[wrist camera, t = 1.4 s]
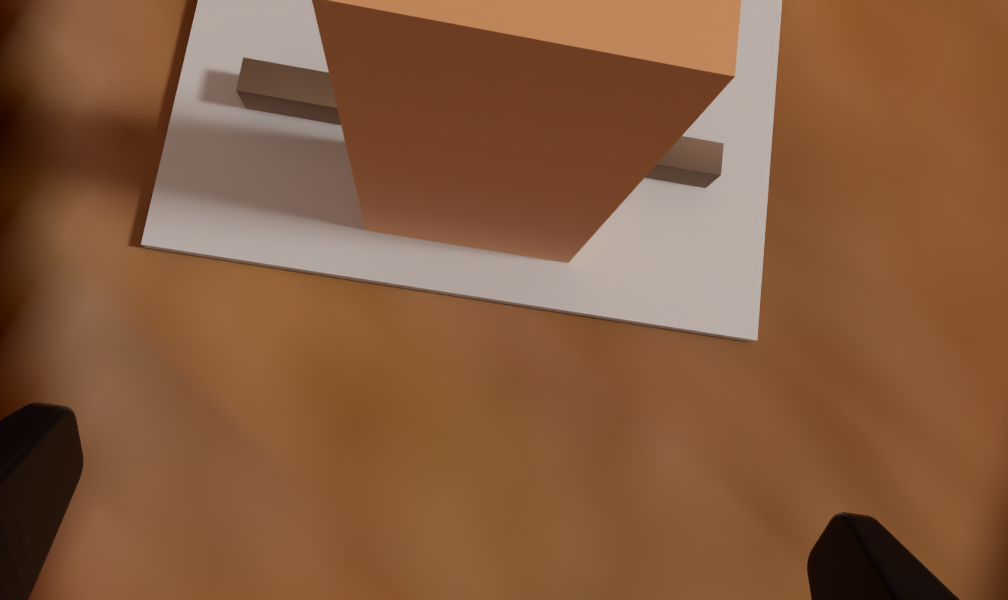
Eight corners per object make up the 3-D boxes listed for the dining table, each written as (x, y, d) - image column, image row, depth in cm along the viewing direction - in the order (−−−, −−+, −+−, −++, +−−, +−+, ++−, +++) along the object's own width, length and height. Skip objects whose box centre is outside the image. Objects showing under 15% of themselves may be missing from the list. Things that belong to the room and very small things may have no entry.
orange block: (568, 263, 23) (734, 76, 11) (365, 230, 22) (311, -3, 10) (578, 180, 23) (748, -85, 11) (380, 146, 23) (344, -168, 11)
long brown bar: (705, 188, 24) (720, 175, 22) (245, 108, 22) (236, 90, 21) (708, 157, 24) (723, 143, 23) (252, 77, 22) (243, 57, 21)
